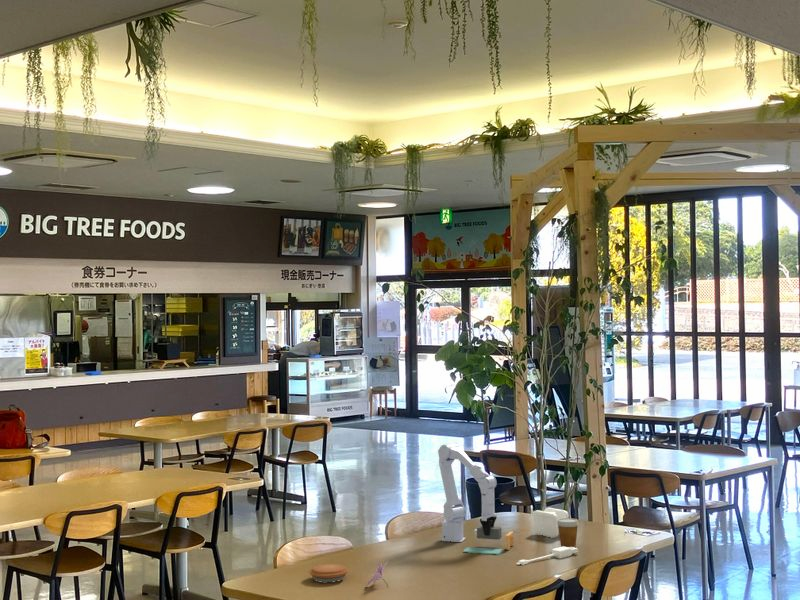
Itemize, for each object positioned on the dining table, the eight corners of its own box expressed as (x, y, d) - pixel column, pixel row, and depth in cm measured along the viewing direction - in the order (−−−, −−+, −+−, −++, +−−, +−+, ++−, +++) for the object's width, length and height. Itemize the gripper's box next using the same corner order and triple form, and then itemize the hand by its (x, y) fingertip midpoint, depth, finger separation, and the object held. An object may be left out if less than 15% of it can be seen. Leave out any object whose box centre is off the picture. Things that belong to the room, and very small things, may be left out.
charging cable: (513, 566, 394) (513, 558, 394) (570, 552, 412) (569, 544, 412) (521, 569, 390) (521, 561, 390) (578, 554, 408) (578, 546, 408)
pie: (328, 572, 386) (328, 559, 386) (356, 578, 376) (356, 565, 376) (300, 580, 374) (300, 567, 374) (329, 587, 364) (329, 573, 364)
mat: (462, 552, 415) (462, 551, 415) (467, 548, 423) (467, 547, 423) (498, 554, 410) (498, 553, 410) (503, 550, 417) (503, 549, 417)
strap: (505, 549, 419) (505, 535, 419) (510, 544, 427) (510, 531, 427) (509, 549, 418) (509, 535, 418) (513, 545, 426) (513, 531, 426)
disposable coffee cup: (578, 545, 426) (577, 517, 426) (580, 550, 416) (579, 522, 417) (556, 544, 427) (556, 517, 427) (558, 549, 417) (557, 522, 418)
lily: (389, 583, 371) (376, 561, 372) (404, 577, 362) (392, 554, 363) (367, 599, 363) (354, 576, 364) (382, 593, 354) (369, 570, 356)
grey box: (473, 538, 426) (473, 527, 426) (476, 535, 430) (476, 525, 430) (499, 539, 422) (498, 529, 422) (501, 537, 426) (501, 527, 426)
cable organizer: (570, 536, 444) (570, 511, 444) (555, 539, 437) (554, 514, 438) (546, 531, 456) (546, 506, 456) (531, 534, 449) (530, 509, 449)
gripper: (492, 506, 418) (493, 538, 418) (500, 501, 432) (501, 531, 431) (477, 506, 421) (477, 537, 420) (485, 500, 434) (486, 530, 434)
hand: (488, 534), depth 426 cm, fingers closed on grey box, 5 cm apart
